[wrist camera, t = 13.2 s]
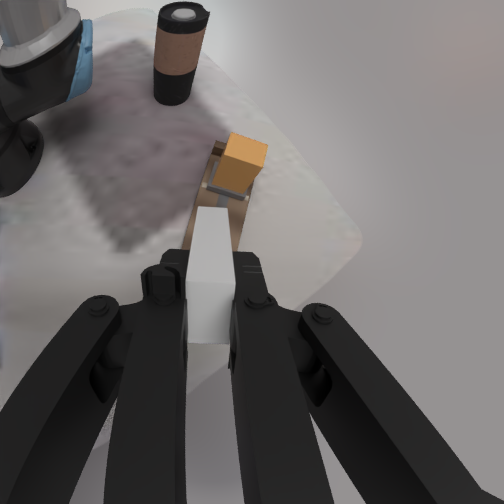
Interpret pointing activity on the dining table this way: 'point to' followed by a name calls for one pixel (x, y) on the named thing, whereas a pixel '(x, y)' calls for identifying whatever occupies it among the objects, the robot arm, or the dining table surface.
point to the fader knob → (237, 166)
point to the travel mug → (177, 50)
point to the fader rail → (218, 203)
